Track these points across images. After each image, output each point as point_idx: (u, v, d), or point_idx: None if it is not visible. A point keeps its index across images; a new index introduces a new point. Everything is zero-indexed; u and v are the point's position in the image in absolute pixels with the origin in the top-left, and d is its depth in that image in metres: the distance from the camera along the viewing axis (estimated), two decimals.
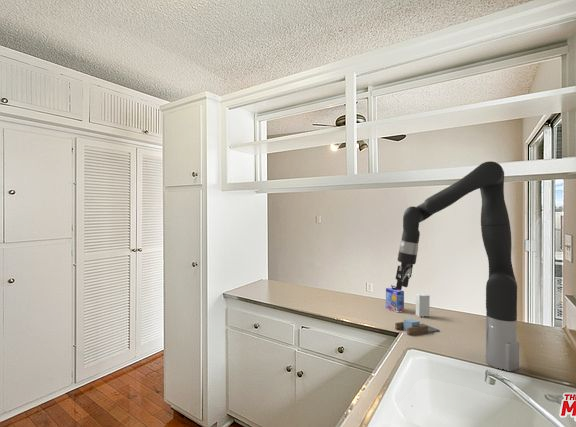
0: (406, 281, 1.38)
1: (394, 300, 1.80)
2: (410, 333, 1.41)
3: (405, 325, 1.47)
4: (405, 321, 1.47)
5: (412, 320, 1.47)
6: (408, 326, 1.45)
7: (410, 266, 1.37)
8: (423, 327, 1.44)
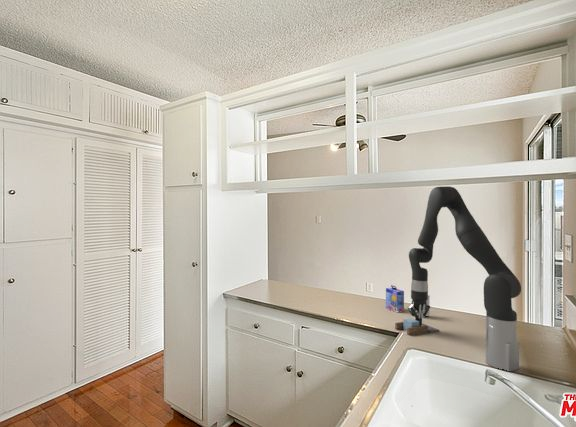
0: None
1: (394, 300, 1.80)
2: (410, 333, 1.41)
3: (405, 325, 1.47)
4: (405, 321, 1.47)
5: (412, 320, 1.47)
6: (408, 326, 1.45)
7: (426, 303, 1.50)
8: (423, 327, 1.44)
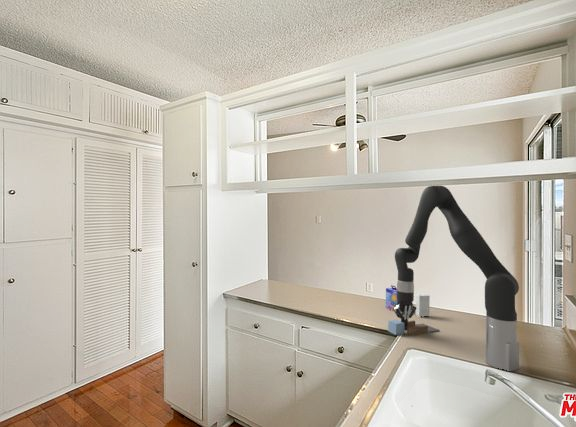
0: None
1: (394, 300, 1.80)
2: (410, 333, 1.41)
3: (390, 326, 1.44)
4: (390, 322, 1.44)
5: (397, 321, 1.43)
6: (393, 328, 1.42)
7: (412, 304, 1.46)
8: (423, 327, 1.44)
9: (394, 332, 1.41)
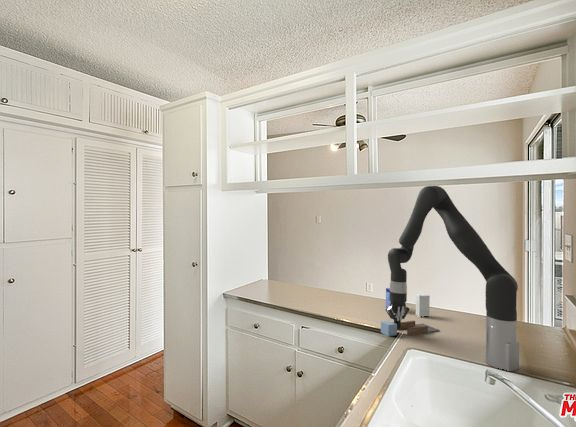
0: None
1: None
2: (410, 333, 1.41)
3: (382, 328, 1.42)
4: (382, 323, 1.42)
5: (389, 322, 1.42)
6: (385, 329, 1.40)
7: (405, 305, 1.44)
8: (423, 327, 1.44)
9: (386, 333, 1.39)
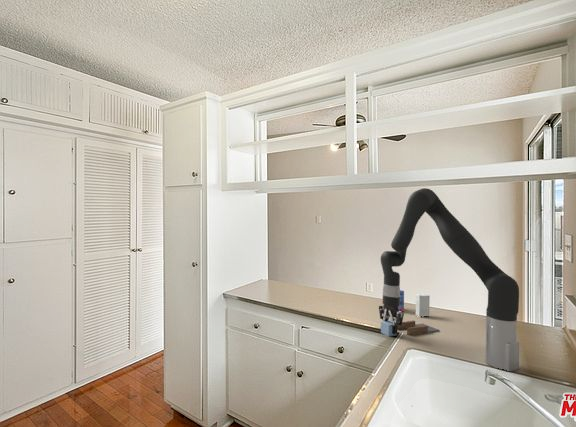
0: None
1: None
2: (410, 333, 1.41)
3: (382, 328, 1.42)
4: (382, 324, 1.42)
5: (390, 323, 1.41)
6: (385, 329, 1.40)
7: (394, 311, 1.38)
8: (423, 327, 1.44)
9: (387, 333, 1.39)
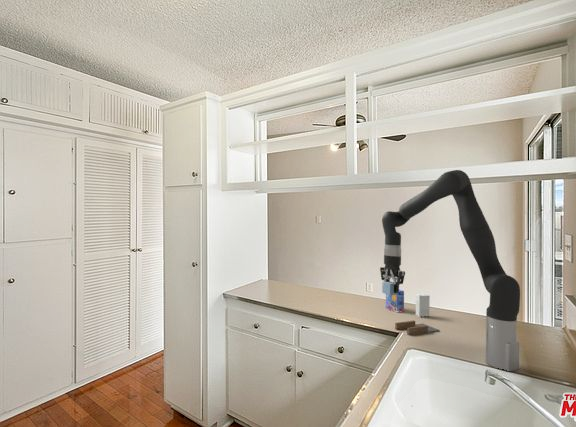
0: None
1: (394, 300, 1.80)
2: (410, 333, 1.41)
3: (384, 288, 1.42)
4: (384, 283, 1.42)
5: (391, 282, 1.42)
6: (387, 288, 1.40)
7: (396, 270, 1.39)
8: (423, 327, 1.44)
9: (388, 292, 1.39)
